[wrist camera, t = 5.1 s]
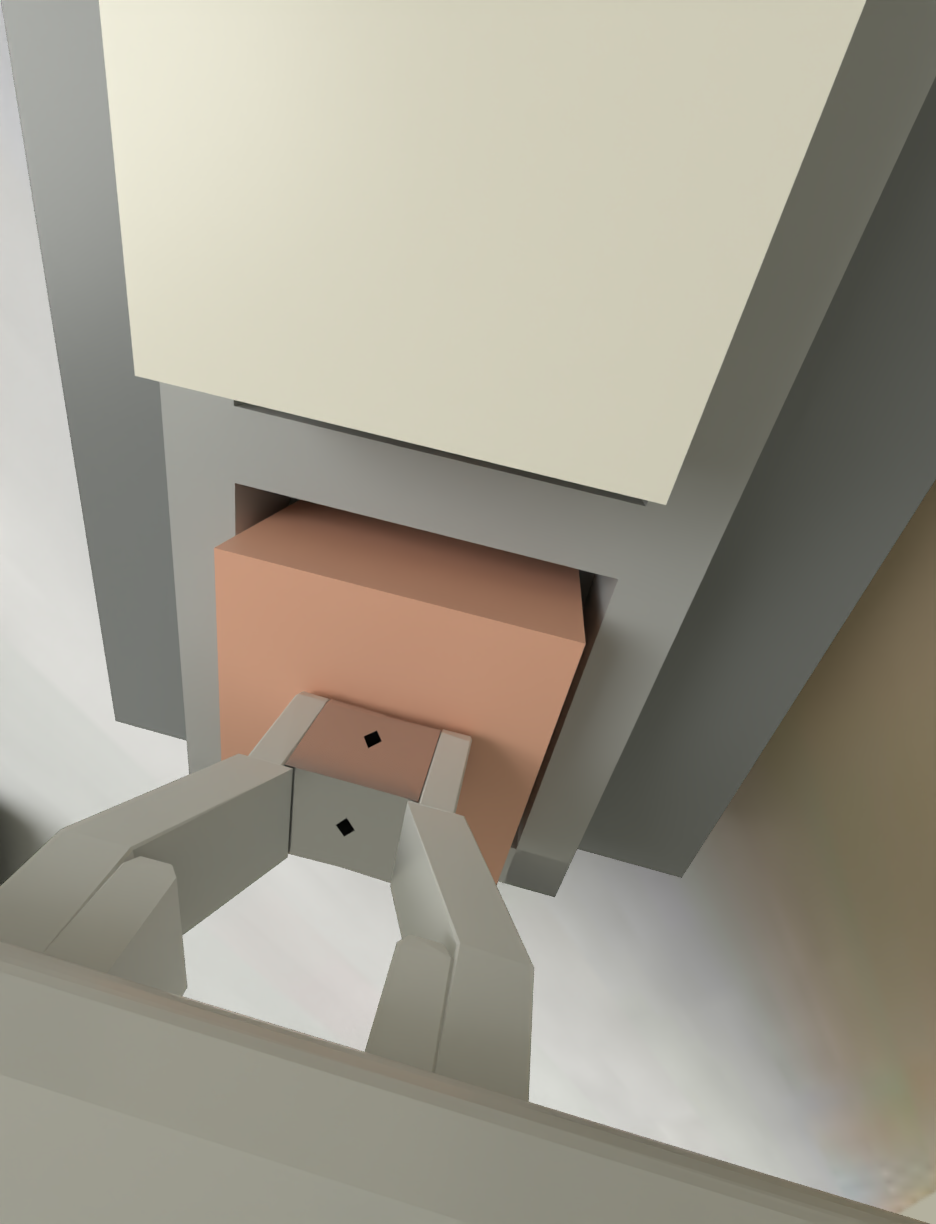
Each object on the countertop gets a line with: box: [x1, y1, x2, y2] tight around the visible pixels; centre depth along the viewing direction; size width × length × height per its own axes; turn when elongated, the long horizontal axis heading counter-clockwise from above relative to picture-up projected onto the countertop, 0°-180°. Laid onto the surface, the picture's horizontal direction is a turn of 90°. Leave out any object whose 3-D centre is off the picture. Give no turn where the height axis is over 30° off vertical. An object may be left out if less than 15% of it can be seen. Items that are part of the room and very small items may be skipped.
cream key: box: [99, 0, 866, 505], centre depth 5 cm, size 6×6×3 cm
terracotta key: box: [214, 499, 586, 885], centre depth 10 cm, size 6×6×3 cm
